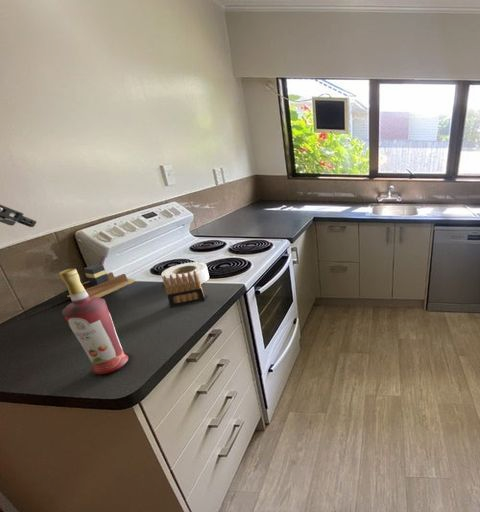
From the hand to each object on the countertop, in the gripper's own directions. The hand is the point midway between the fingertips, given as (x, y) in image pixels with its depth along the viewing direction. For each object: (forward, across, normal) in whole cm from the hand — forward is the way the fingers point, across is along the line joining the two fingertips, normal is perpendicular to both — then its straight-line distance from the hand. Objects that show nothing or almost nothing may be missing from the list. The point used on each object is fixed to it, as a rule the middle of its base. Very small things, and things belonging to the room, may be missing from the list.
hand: (24, 223), depth 90 cm
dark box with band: (+30, +1, +12) cm, 32 cm away
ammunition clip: (+30, -40, +14) cm, 52 cm away
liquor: (+8, -47, +36) cm, 59 cm away
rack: (+31, +1, +13) cm, 33 cm away
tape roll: (+40, -26, +4) cm, 48 cm away
